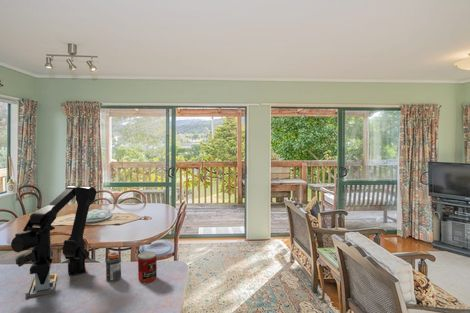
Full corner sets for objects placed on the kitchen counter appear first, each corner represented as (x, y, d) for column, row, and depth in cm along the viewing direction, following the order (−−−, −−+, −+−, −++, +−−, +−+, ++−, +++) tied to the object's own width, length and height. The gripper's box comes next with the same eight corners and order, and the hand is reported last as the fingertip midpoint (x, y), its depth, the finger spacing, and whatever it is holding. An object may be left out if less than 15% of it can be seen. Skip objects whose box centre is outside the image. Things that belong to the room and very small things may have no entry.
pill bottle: (106, 277, 127) (105, 252, 127) (120, 275, 130) (120, 250, 129) (106, 283, 122) (105, 257, 121) (121, 280, 124) (120, 254, 124)
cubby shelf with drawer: (56, 276, 129) (56, 272, 129) (53, 292, 114) (53, 287, 114) (31, 280, 124) (31, 276, 124) (25, 298, 110) (25, 293, 110)
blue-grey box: (50, 283, 119) (49, 265, 119) (49, 288, 115) (48, 269, 115) (36, 286, 117) (36, 267, 117) (35, 291, 113) (34, 272, 113)
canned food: (142, 285, 120) (142, 259, 120) (135, 278, 126) (134, 253, 126) (159, 279, 125) (159, 254, 125) (151, 273, 131) (151, 249, 131)
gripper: (21, 239, 120) (22, 276, 120) (12, 254, 103) (13, 297, 104) (53, 235, 125) (53, 271, 126) (48, 249, 109) (50, 290, 109)
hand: (43, 281), depth 116 cm, fingers closed on blue-grey box, 4 cm apart
